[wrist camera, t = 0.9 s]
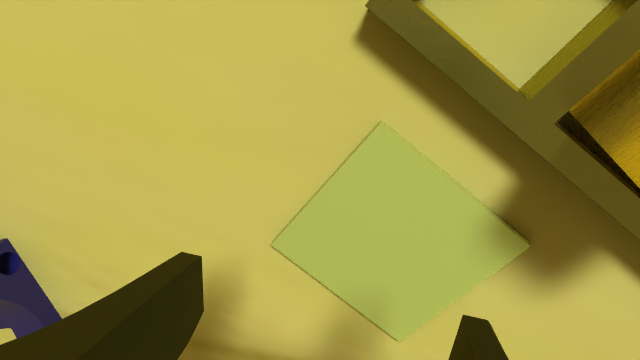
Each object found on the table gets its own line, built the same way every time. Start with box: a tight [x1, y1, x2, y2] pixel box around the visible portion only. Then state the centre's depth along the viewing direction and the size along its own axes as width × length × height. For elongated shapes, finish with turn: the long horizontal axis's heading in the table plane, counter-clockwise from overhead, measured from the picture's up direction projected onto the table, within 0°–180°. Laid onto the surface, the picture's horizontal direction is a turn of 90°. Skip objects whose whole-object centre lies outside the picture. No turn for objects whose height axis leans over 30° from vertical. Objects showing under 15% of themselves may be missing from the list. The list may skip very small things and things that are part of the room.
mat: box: [271, 121, 531, 342], centre depth 22 cm, size 9×9×1 cm
